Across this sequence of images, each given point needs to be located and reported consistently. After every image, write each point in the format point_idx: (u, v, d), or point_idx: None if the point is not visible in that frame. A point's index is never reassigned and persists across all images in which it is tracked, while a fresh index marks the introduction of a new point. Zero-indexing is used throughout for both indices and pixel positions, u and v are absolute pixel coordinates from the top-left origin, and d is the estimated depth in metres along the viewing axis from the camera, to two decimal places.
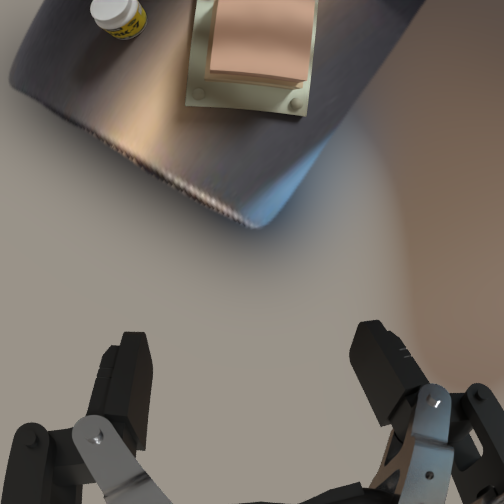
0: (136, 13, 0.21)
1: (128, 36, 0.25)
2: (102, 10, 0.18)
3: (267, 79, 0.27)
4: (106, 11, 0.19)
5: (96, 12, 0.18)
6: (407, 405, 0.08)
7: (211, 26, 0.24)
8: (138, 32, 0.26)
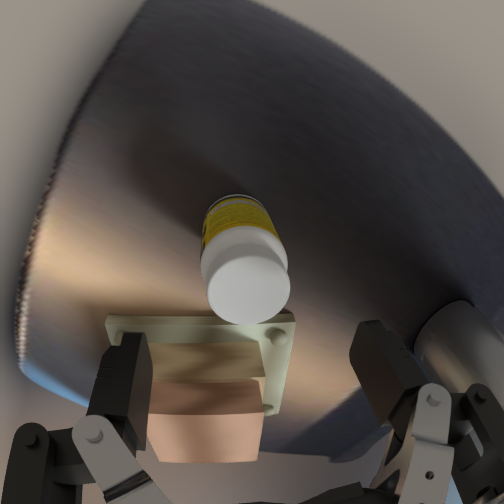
0: None
1: None
2: (233, 284, 0.14)
3: None
4: (228, 293, 0.14)
5: (230, 273, 0.14)
6: (407, 405, 0.08)
7: (209, 379, 0.21)
8: None
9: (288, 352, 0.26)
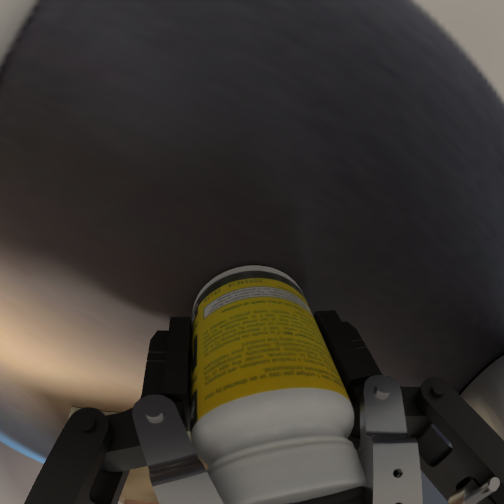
0: None
1: None
2: None
3: None
4: None
5: None
6: (355, 396, 0.08)
7: None
8: None
9: None
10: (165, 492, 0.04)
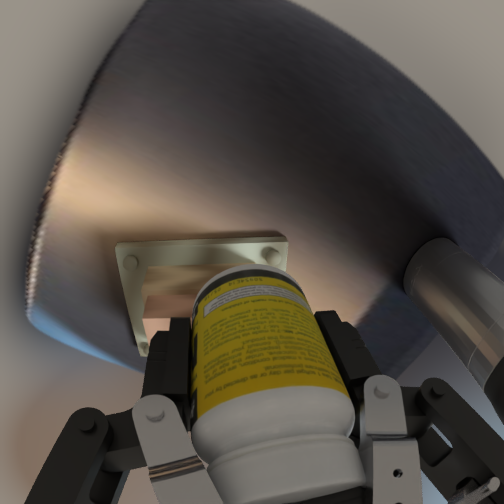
0: None
1: None
2: None
3: None
4: None
5: None
6: (355, 396, 0.08)
7: None
8: None
9: None
10: (165, 492, 0.04)
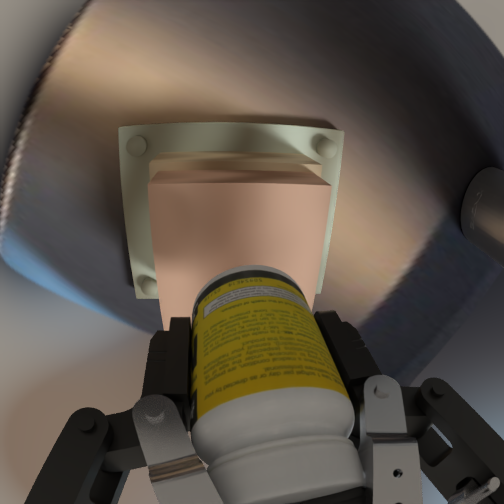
0: None
1: None
2: None
3: None
4: None
5: None
6: (355, 395, 0.08)
7: (251, 163, 0.17)
8: None
9: (336, 177, 0.22)
10: (165, 492, 0.04)
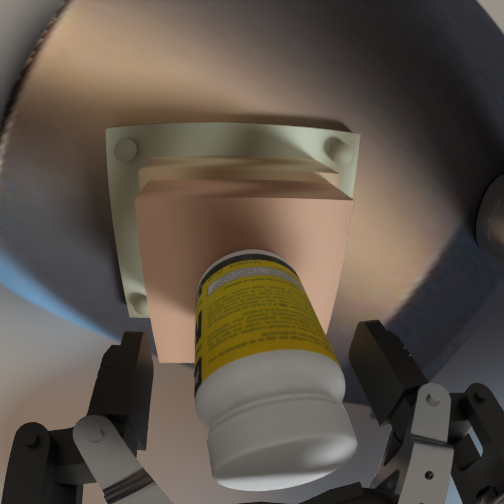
0: None
1: None
2: (260, 467, 0.06)
3: None
4: (251, 474, 0.06)
5: (256, 460, 0.06)
6: (407, 405, 0.08)
7: (258, 171, 0.14)
8: None
9: (351, 186, 0.19)
10: None
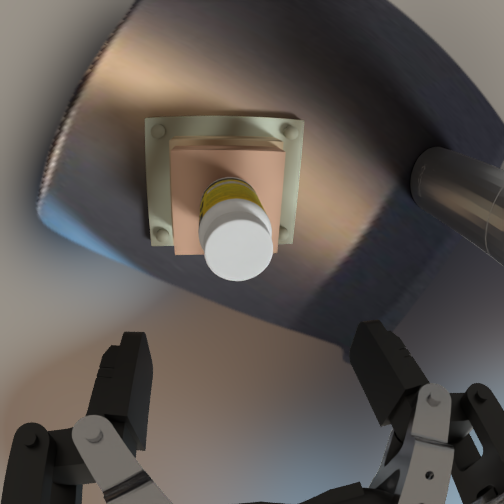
0: None
1: None
2: (225, 244, 0.17)
3: None
4: (222, 251, 0.17)
5: (223, 234, 0.17)
6: (407, 405, 0.08)
7: (235, 141, 0.25)
8: None
9: (299, 153, 0.30)
10: None
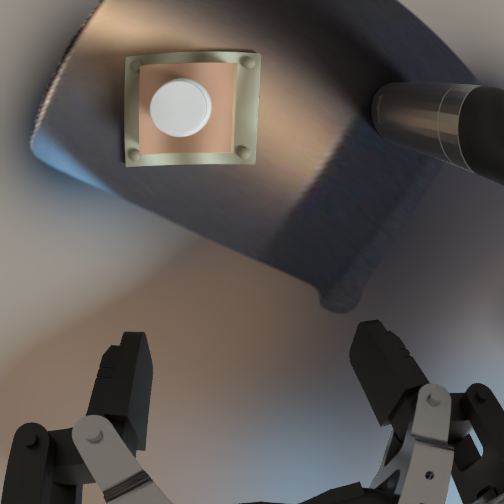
0: None
1: None
2: (166, 101, 0.18)
3: None
4: (163, 107, 0.18)
5: (164, 92, 0.18)
6: (407, 405, 0.08)
7: (196, 63, 0.26)
8: None
9: (257, 81, 0.32)
10: None
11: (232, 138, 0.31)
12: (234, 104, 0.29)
